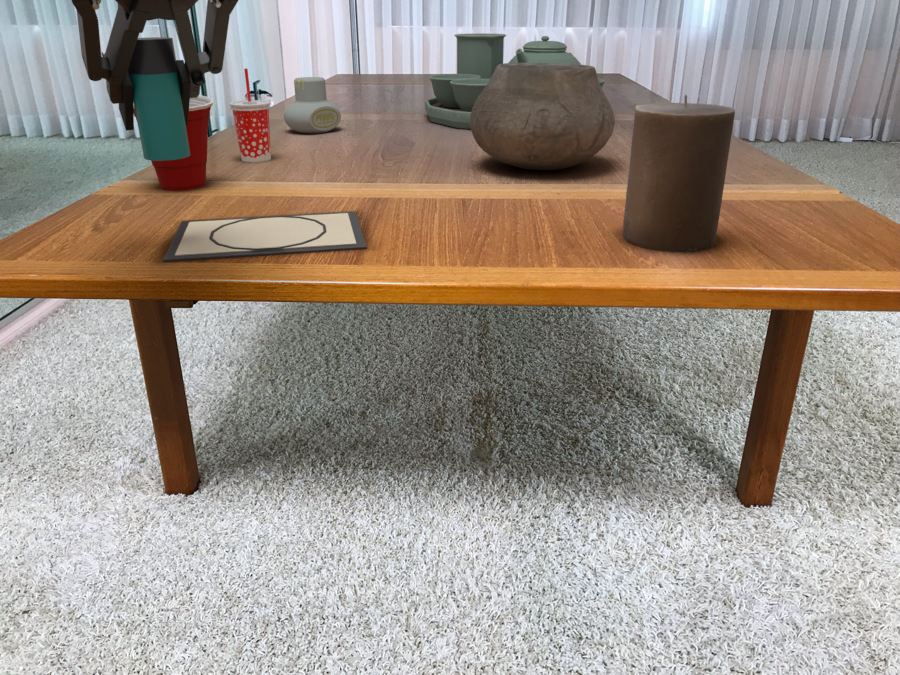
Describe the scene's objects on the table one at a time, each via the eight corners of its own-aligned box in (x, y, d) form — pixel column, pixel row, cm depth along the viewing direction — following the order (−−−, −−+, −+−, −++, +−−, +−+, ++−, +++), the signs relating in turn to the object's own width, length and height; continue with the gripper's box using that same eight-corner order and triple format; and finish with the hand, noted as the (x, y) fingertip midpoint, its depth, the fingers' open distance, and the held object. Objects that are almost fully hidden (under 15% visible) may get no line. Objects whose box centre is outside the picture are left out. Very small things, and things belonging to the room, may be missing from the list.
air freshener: (324, 126, 147) (320, 74, 143) (349, 131, 142) (345, 77, 138) (278, 133, 140) (272, 79, 136) (302, 138, 135) (297, 82, 131)
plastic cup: (167, 201, 92) (150, 104, 87) (128, 188, 99) (111, 97, 94) (240, 187, 100) (229, 96, 95) (200, 175, 106) (187, 90, 101)
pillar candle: (710, 259, 71) (736, 102, 65) (612, 247, 75) (627, 97, 68) (718, 233, 80) (741, 90, 73) (629, 223, 83) (644, 87, 77)
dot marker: (139, 162, 70) (115, 40, 65) (147, 153, 74) (125, 37, 69) (188, 159, 71) (168, 39, 66) (193, 151, 75) (175, 36, 70)
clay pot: (495, 150, 123) (497, 57, 117) (620, 159, 116) (630, 60, 110) (449, 177, 105) (449, 68, 98) (595, 189, 98) (605, 73, 92)
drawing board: (163, 264, 70) (162, 257, 70) (182, 225, 83) (181, 219, 83) (367, 251, 74) (366, 244, 74) (355, 215, 87) (355, 209, 86)
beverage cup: (247, 156, 119) (236, 66, 113) (281, 157, 118) (272, 67, 112) (230, 163, 114) (217, 70, 108) (266, 165, 113) (256, 70, 107)
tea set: (394, 127, 146) (391, 39, 139) (465, 103, 180) (466, 31, 172) (588, 140, 132) (595, 43, 125) (625, 111, 166) (633, 33, 159)
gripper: (36, -50, 49) (68, 156, 69) (285, -45, 57) (249, 138, 77) (12, -130, 51) (49, 93, 71) (256, -114, 59) (228, 82, 79)
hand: (153, 116), depth 74 cm, fingers closed on dot marker, 5 cm apart
